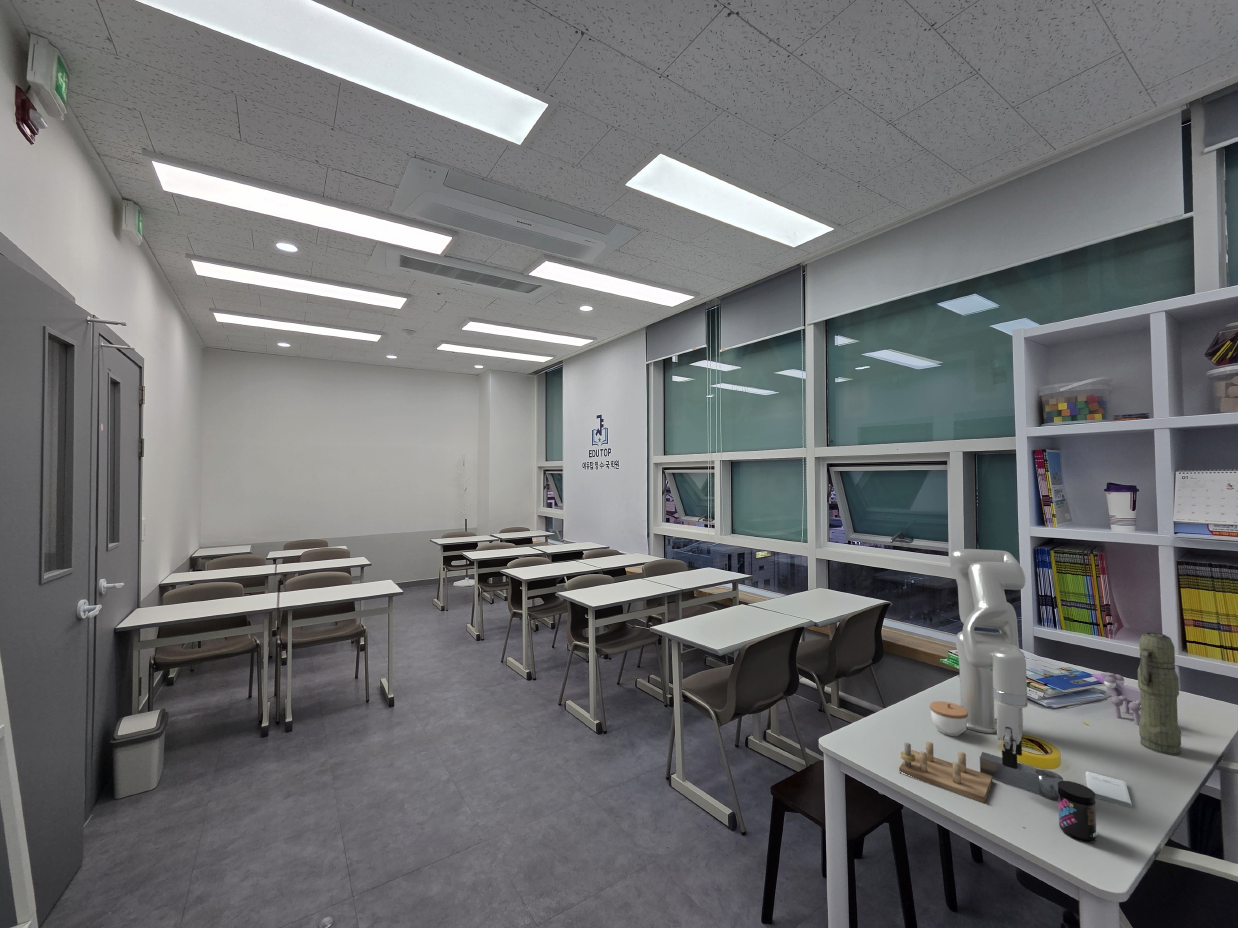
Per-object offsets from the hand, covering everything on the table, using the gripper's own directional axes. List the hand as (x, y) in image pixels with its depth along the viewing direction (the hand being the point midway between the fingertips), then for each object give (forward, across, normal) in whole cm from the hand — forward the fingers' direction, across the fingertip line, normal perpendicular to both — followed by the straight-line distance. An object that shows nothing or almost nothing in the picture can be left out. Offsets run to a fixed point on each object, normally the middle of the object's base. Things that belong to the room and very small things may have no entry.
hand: (1012, 760), depth 141 cm
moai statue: (+5, -55, +31) cm, 63 cm away
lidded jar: (+6, -22, -19) cm, 30 cm away
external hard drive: (+7, -14, +19) cm, 24 cm away
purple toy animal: (+5, -77, +24) cm, 80 cm away
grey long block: (+6, -1, +2) cm, 7 cm away
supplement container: (+7, +14, +14) cm, 21 cm away
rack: (+6, +9, -14) cm, 18 cm away
